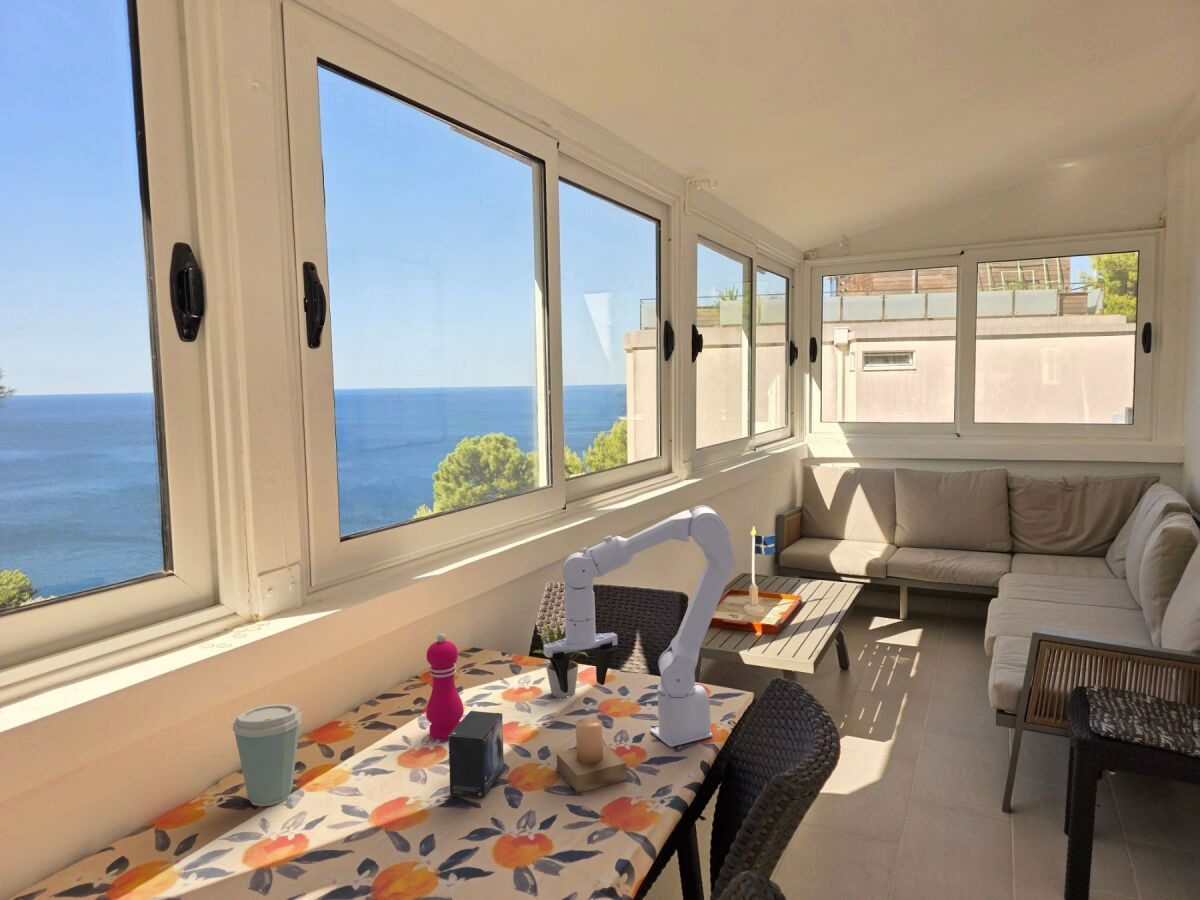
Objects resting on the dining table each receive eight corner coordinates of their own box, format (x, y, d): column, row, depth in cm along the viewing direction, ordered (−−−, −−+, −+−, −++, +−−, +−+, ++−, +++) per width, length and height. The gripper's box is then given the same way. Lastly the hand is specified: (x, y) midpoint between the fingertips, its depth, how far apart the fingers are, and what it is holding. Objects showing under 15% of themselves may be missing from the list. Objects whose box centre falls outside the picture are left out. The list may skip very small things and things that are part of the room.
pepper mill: (419, 738, 153) (414, 637, 151) (440, 723, 159) (436, 626, 158) (451, 743, 150) (446, 641, 148) (471, 728, 157) (467, 629, 155)
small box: (486, 800, 129) (483, 738, 128) (448, 797, 130) (445, 735, 130) (506, 769, 139) (504, 711, 139) (471, 766, 141) (469, 709, 140)
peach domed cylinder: (597, 749, 139) (596, 716, 139) (607, 760, 135) (606, 726, 135) (572, 754, 137) (571, 721, 137) (582, 765, 133) (581, 731, 133)
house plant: (596, 707, 165) (594, 631, 164) (530, 709, 165) (527, 633, 164) (597, 682, 179) (595, 611, 178) (536, 683, 179) (534, 613, 178)
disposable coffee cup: (238, 789, 135) (232, 704, 134) (305, 775, 139) (300, 693, 138) (236, 820, 125) (230, 728, 124) (308, 804, 129) (303, 715, 128)
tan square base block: (603, 758, 142) (602, 742, 142) (626, 779, 134) (625, 762, 134) (557, 769, 138) (556, 753, 138) (577, 792, 130) (577, 775, 130)
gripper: (605, 606, 156) (607, 673, 157) (536, 617, 150) (539, 687, 151) (621, 615, 149) (623, 685, 151) (550, 627, 143) (553, 699, 144)
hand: (582, 687), depth 150 cm, fingers open, 7 cm apart
